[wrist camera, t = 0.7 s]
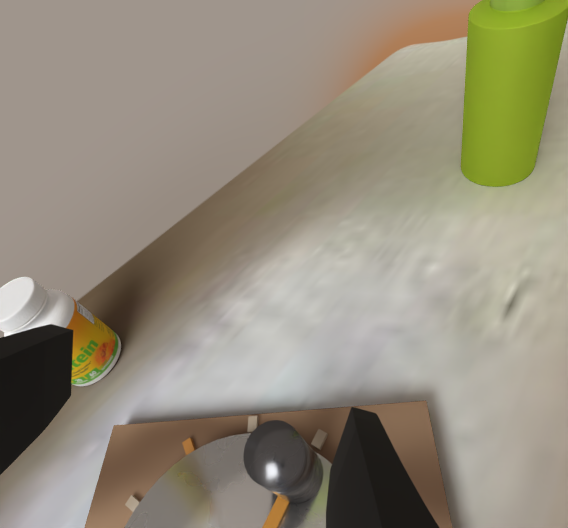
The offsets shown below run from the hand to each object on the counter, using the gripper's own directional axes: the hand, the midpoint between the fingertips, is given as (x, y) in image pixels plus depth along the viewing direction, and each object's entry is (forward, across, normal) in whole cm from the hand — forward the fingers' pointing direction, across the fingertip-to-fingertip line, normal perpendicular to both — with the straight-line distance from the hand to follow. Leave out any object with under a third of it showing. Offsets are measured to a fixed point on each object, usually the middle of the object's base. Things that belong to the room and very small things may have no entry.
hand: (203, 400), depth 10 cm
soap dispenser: (+32, -16, -7) cm, 36 cm away
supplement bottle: (+20, +14, +16) cm, 30 cm away
